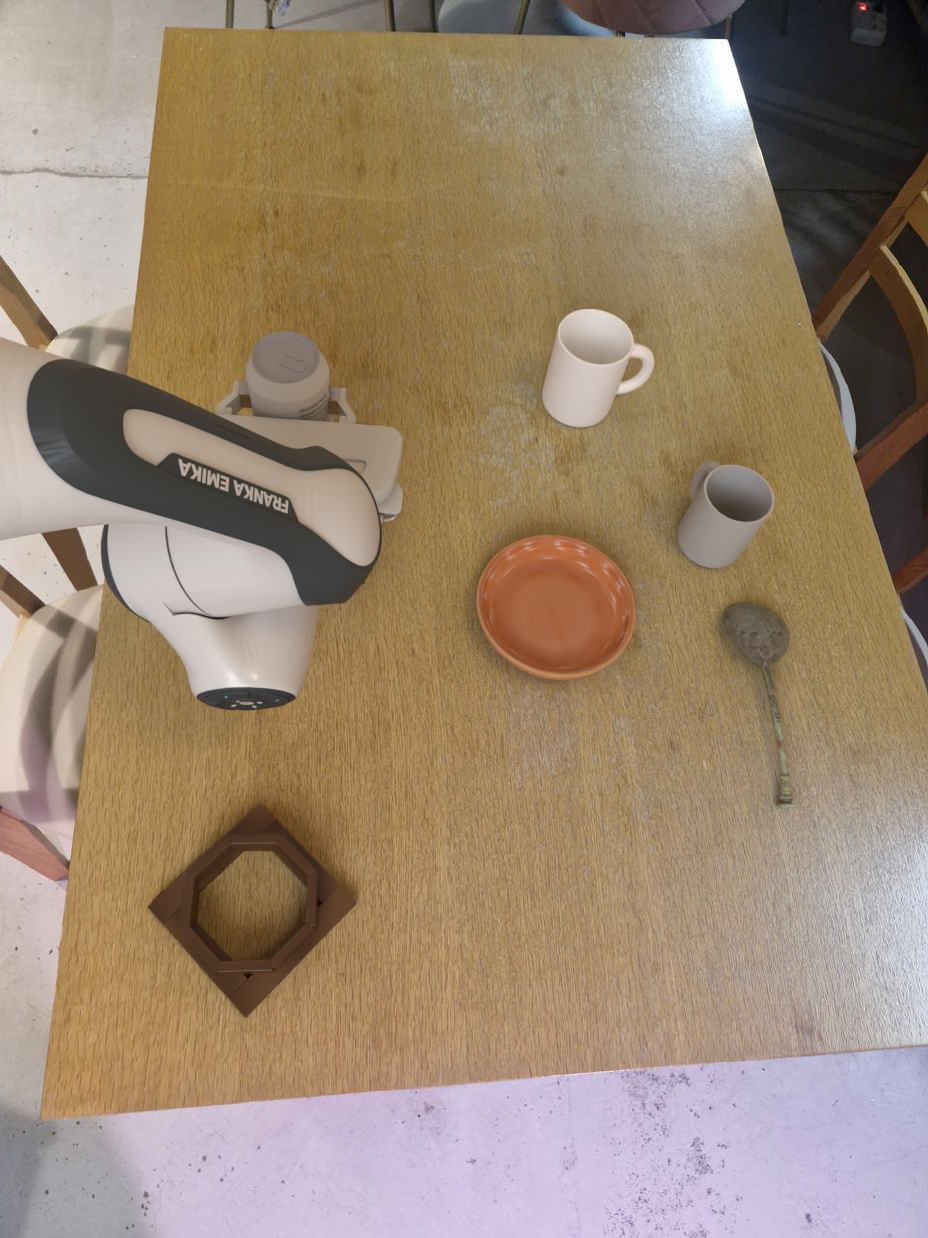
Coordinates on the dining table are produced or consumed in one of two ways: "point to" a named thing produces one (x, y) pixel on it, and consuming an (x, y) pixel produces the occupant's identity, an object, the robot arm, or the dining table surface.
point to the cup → (723, 513)
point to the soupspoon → (763, 663)
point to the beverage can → (288, 378)
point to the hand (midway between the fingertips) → (291, 388)
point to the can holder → (247, 993)
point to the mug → (591, 367)
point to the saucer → (555, 607)
